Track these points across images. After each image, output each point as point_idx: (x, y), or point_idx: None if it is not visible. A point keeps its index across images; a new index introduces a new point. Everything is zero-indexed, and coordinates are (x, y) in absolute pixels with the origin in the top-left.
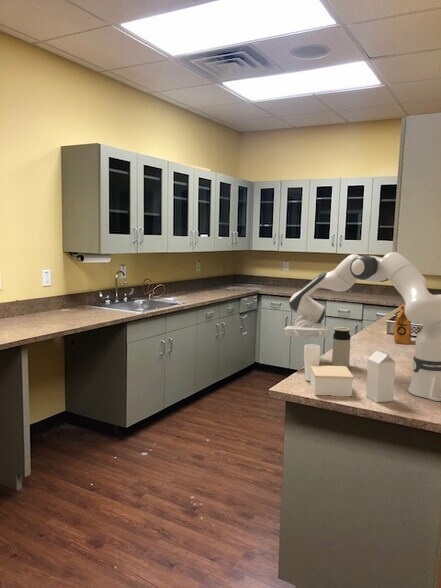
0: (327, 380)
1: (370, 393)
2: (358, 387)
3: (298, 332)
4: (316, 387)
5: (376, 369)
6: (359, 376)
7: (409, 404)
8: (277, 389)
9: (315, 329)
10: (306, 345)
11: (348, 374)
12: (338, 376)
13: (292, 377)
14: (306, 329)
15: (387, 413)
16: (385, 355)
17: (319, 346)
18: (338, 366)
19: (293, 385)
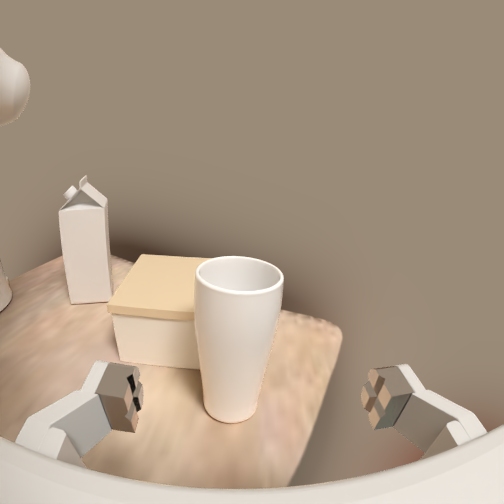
0: None
1: (111, 281)
2: (88, 345)
3: (396, 386)
4: None
5: (107, 216)
6: (11, 425)
7: (59, 277)
8: (334, 332)
9: (94, 484)
10: (272, 290)
11: (145, 262)
12: (179, 257)
13: (310, 428)
14: (306, 488)
15: (124, 261)
16: (88, 184)
17: (198, 273)
18: (136, 304)
19: (295, 359)
